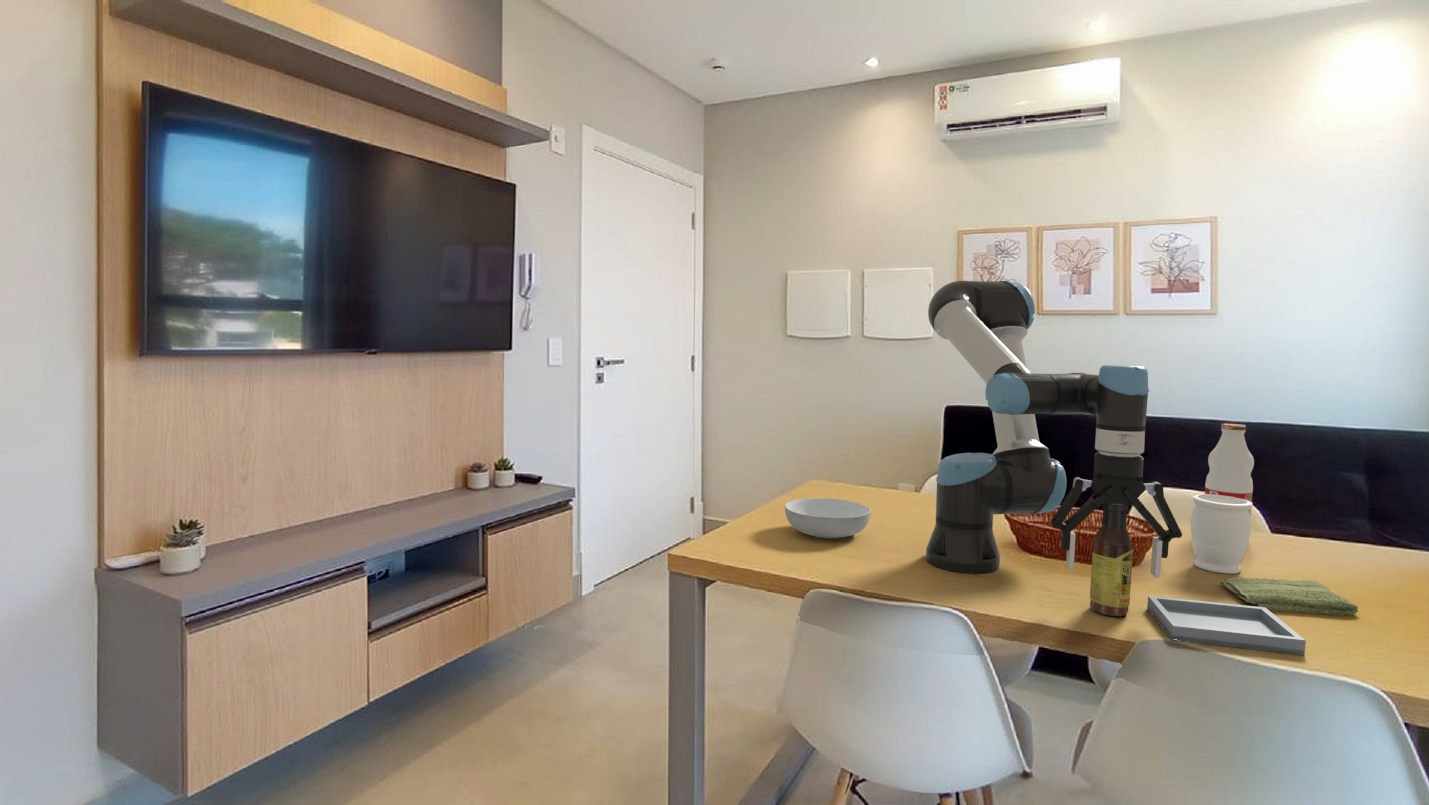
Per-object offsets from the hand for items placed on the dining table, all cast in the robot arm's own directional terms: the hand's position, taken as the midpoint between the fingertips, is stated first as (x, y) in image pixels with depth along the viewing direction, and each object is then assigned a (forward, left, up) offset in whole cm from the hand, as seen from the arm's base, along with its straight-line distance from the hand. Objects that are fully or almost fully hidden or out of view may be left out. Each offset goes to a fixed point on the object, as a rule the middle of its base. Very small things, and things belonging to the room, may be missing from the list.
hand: (1111, 571), depth 127 cm
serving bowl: (-55, +34, -8) cm, 65 cm away
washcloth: (+33, +16, -8) cm, 38 cm away
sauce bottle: (0, 0, -8) cm, 8 cm away
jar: (+28, +34, -8) cm, 45 cm away
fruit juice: (+39, +62, -8) cm, 74 cm away
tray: (+16, -3, -7) cm, 18 cm away
